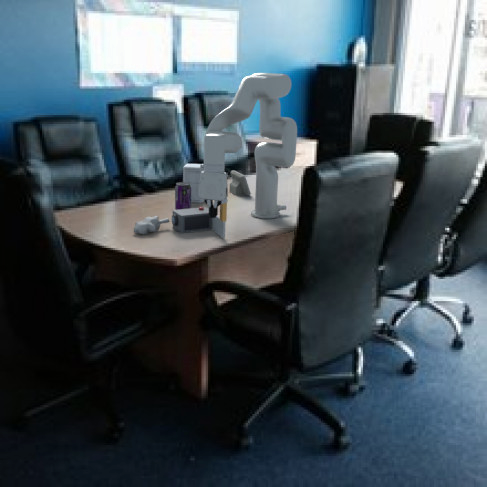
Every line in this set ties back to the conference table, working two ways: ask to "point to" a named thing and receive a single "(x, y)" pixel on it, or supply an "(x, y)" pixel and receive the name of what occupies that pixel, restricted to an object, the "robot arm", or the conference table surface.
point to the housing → (192, 220)
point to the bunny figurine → (149, 225)
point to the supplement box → (193, 180)
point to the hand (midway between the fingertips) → (213, 217)
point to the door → (220, 221)
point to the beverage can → (182, 196)
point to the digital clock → (239, 184)
